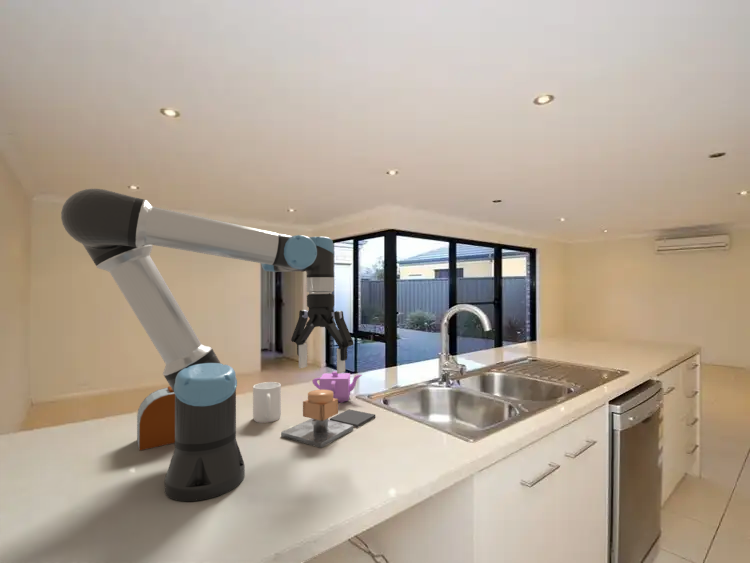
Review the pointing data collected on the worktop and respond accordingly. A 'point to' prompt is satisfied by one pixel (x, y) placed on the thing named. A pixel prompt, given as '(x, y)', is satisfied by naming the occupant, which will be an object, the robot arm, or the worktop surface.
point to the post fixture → (317, 432)
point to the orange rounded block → (156, 419)
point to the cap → (320, 405)
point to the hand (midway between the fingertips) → (321, 370)
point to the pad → (353, 417)
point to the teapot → (337, 384)
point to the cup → (266, 402)
